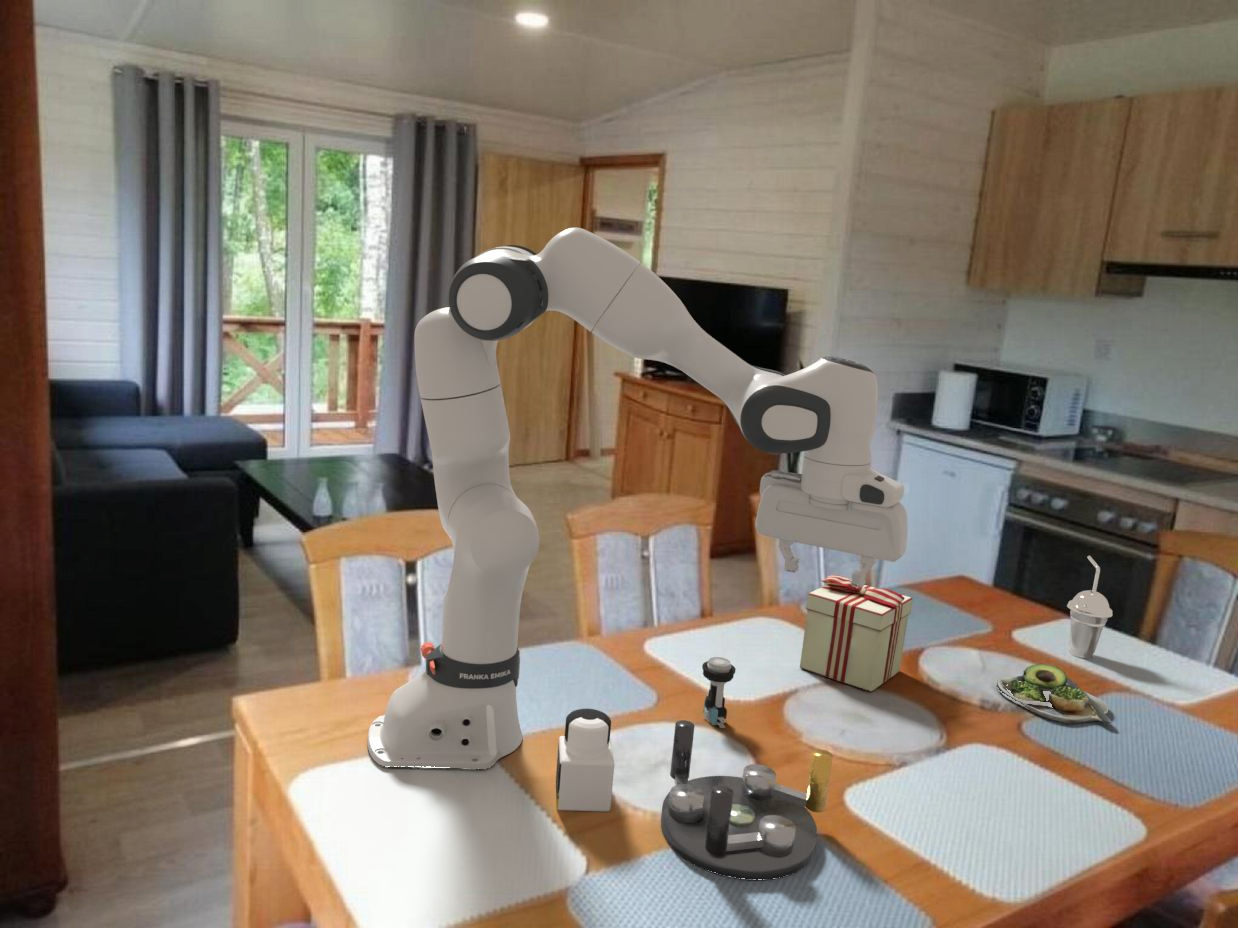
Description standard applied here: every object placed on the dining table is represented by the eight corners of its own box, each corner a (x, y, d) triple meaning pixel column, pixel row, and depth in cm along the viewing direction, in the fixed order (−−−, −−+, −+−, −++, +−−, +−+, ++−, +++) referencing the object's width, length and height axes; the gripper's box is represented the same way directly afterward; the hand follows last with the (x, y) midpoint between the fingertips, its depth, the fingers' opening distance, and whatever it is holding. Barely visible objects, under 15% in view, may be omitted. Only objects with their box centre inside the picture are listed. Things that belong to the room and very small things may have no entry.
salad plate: (1140, 725, 163) (1146, 701, 162) (1066, 738, 156) (1071, 712, 155) (1052, 678, 180) (1056, 656, 179) (981, 688, 173) (985, 664, 172)
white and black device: (555, 781, 129) (561, 701, 126) (606, 783, 130) (613, 703, 127) (556, 811, 122) (562, 727, 120) (610, 812, 123) (617, 729, 120)
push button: (737, 729, 148) (744, 671, 146) (706, 731, 147) (713, 672, 145) (722, 710, 155) (728, 654, 153) (692, 711, 153) (698, 655, 151)
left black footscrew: (704, 823, 118) (710, 764, 116) (669, 821, 118) (676, 762, 116) (694, 775, 129) (699, 721, 128) (662, 773, 129) (668, 719, 127)
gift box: (907, 664, 180) (920, 580, 177) (878, 696, 165) (892, 605, 162) (823, 640, 189) (834, 559, 186) (789, 668, 174) (800, 581, 170)
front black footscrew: (782, 833, 117) (790, 774, 116) (799, 854, 113) (807, 793, 112) (698, 842, 114) (705, 782, 112) (712, 864, 110) (719, 802, 108)
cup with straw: (1056, 654, 192) (1073, 562, 188) (1061, 642, 200) (1078, 553, 196) (1101, 666, 188) (1120, 572, 184) (1105, 653, 195) (1123, 562, 191)
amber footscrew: (736, 793, 126) (743, 737, 124) (747, 778, 130) (754, 724, 128) (819, 821, 121) (827, 764, 119) (828, 806, 124) (836, 750, 123)
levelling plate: (694, 889, 109) (696, 869, 108) (640, 795, 127) (642, 778, 127) (844, 869, 115) (847, 851, 114) (772, 782, 133) (774, 766, 133)
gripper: (753, 471, 127) (744, 567, 129) (905, 497, 117) (892, 601, 120) (769, 464, 132) (760, 557, 135) (916, 488, 122) (903, 588, 125)
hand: (823, 578), depth 127 cm, fingers open, 8 cm apart
